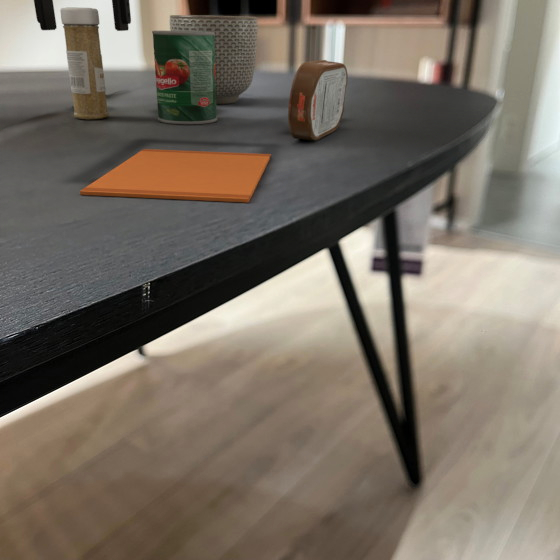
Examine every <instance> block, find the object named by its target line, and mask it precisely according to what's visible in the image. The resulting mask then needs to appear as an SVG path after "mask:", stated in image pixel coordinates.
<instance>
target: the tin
mask: <svg viewBox="0 0 560 560" xmlns="http://www.w3.org/2000/svg"><path fill="white" fill-rule="evenodd" d="M348 79H349V78H348V69H347V67H346V65H345V64H344V63H341V62H338V61H329V60H326V59H321V60H312V61H304V62H303V63H301V64H300V65H299V67H298V68H297V70H296V72H295V75H294V77H293V79H292V84H291V87H290V88H291V89H290V93H289V99H288V107H287V109H288V110H287V113H288V114H287V118H288V129H289V133H290V135H291V137H292V138H293V139H294V140H299V139H300V140H306V141H311V142H312V141H318V140H320V139H321V138H322V139H323V137H325V136H327V135H330V134H331V133H333V132H335V131H336V130H337V129H338V127H339V126H340V124H341V122H342V118H343V116H344V112H345V111H344V110H345V100H346V92H347V87H348V86H347V85H348V81H349V80H348Z"/></svg>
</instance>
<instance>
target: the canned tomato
mask: <svg viewBox="0 0 560 560" xmlns="http://www.w3.org/2000/svg"><path fill="white" fill-rule="evenodd" d="M151 34H152V45H153V57H154V59H153V60H154V74H155V87H156V88H155V89H156V102H157V103H156V105H157V113H158V114H157V120H158V122H160V123H163V124H164V123H165V124H169V125H188V126H189V125H207V124H212V123H216V122H217V120H218V117H217V116H218V115H217V104H216V78H215V75H216V73H215V43H214V35H215V33H214V32H200V31H170V30H151Z"/></svg>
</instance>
